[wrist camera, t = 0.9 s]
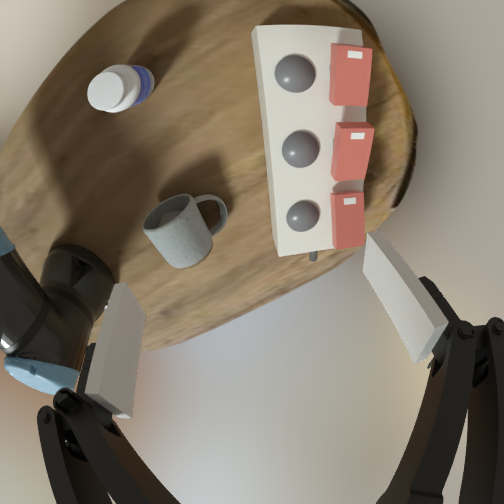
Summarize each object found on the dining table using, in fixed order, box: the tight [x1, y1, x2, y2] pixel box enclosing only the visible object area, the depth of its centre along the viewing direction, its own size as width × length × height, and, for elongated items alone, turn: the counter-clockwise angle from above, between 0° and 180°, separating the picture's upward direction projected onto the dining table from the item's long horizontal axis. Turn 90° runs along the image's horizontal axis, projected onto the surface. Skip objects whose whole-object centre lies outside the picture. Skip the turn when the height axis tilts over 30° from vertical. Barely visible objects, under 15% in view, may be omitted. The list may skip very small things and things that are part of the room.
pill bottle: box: [87, 65, 154, 113], centre depth 23 cm, size 5×5×10 cm
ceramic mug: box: [142, 194, 228, 270], centre depth 36 cm, size 11×8×8 cm
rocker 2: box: [330, 122, 375, 181], centre depth 28 cm, size 4×7×2 cm, turn 6°
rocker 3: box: [330, 190, 364, 249], centre depth 33 cm, size 4×7×2 cm, turn 6°
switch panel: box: [251, 25, 366, 262], centre depth 32 cm, size 12×34×6 cm, turn 6°
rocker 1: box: [329, 43, 373, 106], centre depth 22 cm, size 4×7×2 cm, turn 6°
